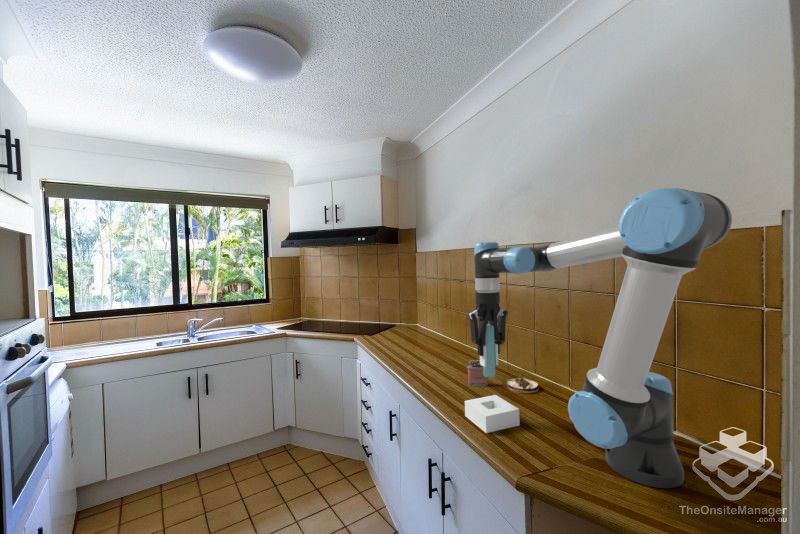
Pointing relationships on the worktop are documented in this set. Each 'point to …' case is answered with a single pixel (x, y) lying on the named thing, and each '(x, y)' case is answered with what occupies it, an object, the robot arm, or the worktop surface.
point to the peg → (489, 352)
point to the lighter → (476, 374)
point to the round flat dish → (522, 385)
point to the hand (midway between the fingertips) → (489, 364)
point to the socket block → (492, 413)
